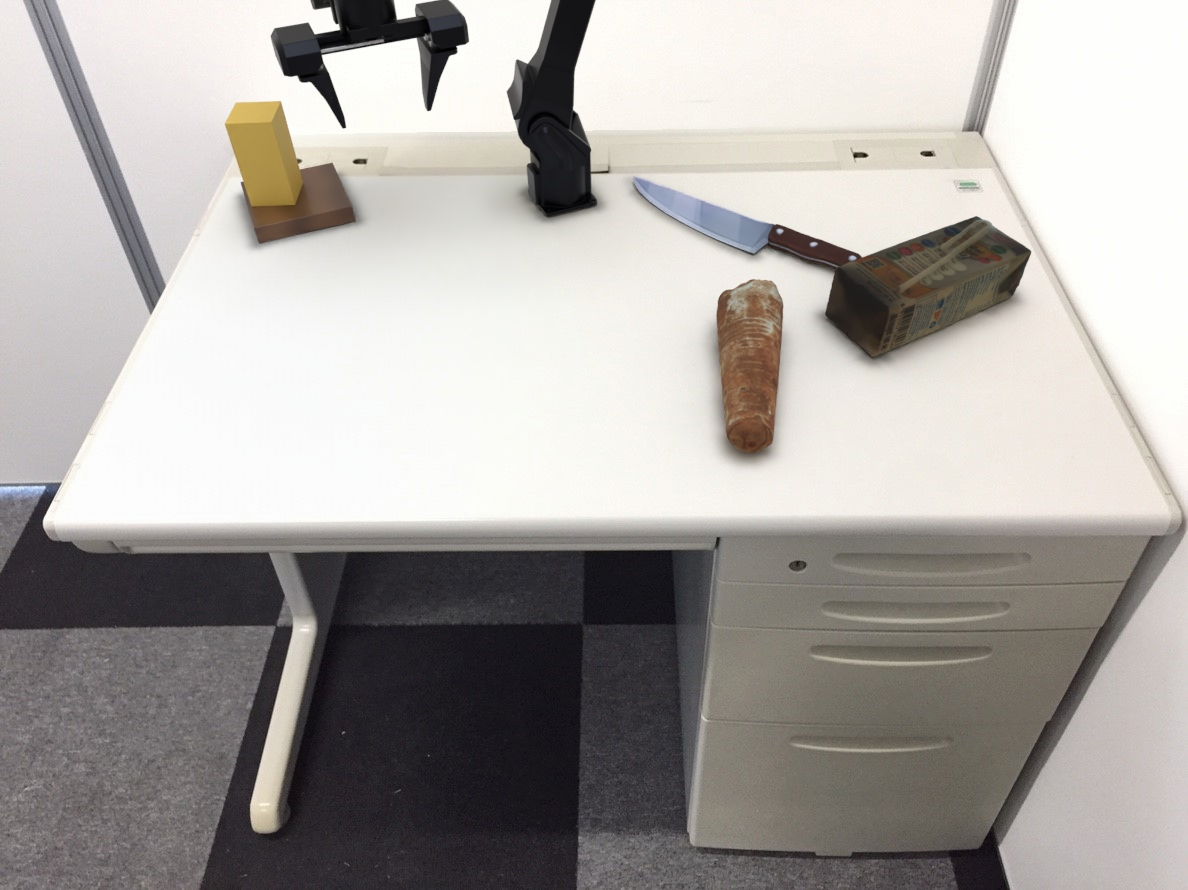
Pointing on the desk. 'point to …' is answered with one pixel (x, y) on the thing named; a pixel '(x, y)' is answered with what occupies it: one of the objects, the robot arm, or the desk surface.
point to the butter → (264, 153)
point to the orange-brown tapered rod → (750, 361)
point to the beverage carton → (925, 284)
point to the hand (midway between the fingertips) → (386, 118)
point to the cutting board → (305, 207)
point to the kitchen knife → (741, 227)
